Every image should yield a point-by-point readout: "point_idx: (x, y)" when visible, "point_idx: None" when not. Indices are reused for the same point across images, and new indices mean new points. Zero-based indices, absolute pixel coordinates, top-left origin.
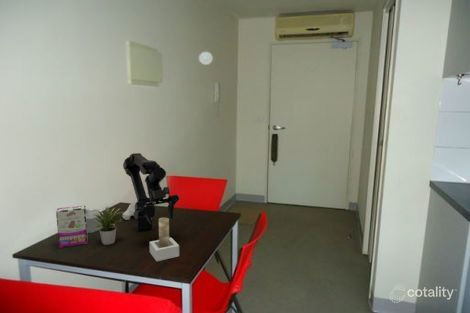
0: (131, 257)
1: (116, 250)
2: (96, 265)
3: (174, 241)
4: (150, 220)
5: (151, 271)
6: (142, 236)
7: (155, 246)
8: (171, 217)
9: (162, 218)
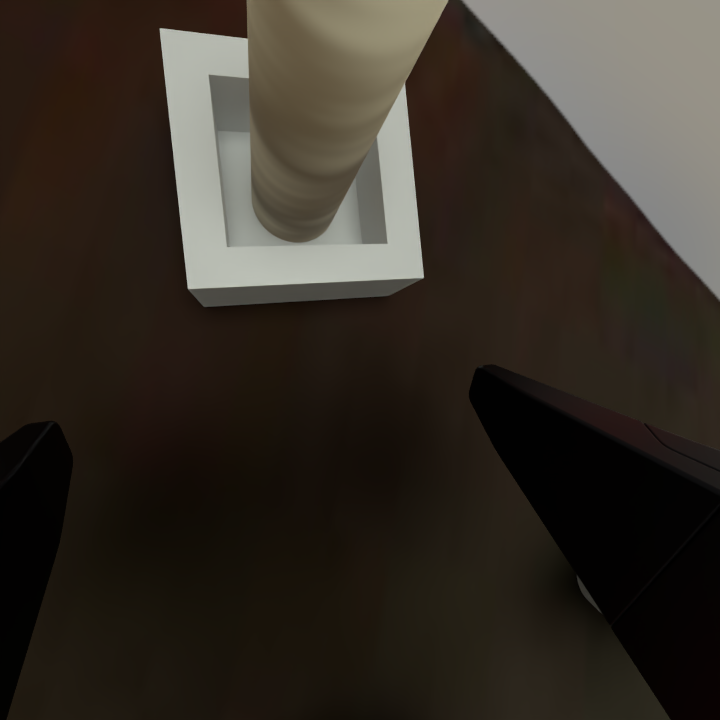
0: (506, 266)
1: None
2: (666, 253)
3: (181, 164)
4: (519, 379)
5: None
6: (394, 622)
7: (392, 145)
8: (38, 435)
9: None
